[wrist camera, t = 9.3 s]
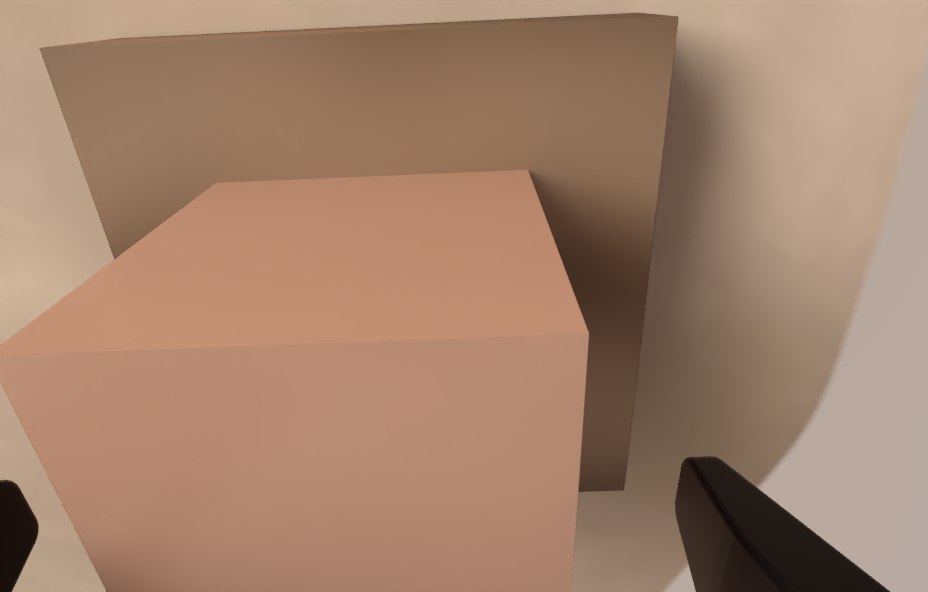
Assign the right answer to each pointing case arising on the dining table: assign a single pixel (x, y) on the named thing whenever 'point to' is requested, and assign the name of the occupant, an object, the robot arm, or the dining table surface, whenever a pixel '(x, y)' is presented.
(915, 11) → the dining table surface
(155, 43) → the walnut base
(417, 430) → the terracotta cube
